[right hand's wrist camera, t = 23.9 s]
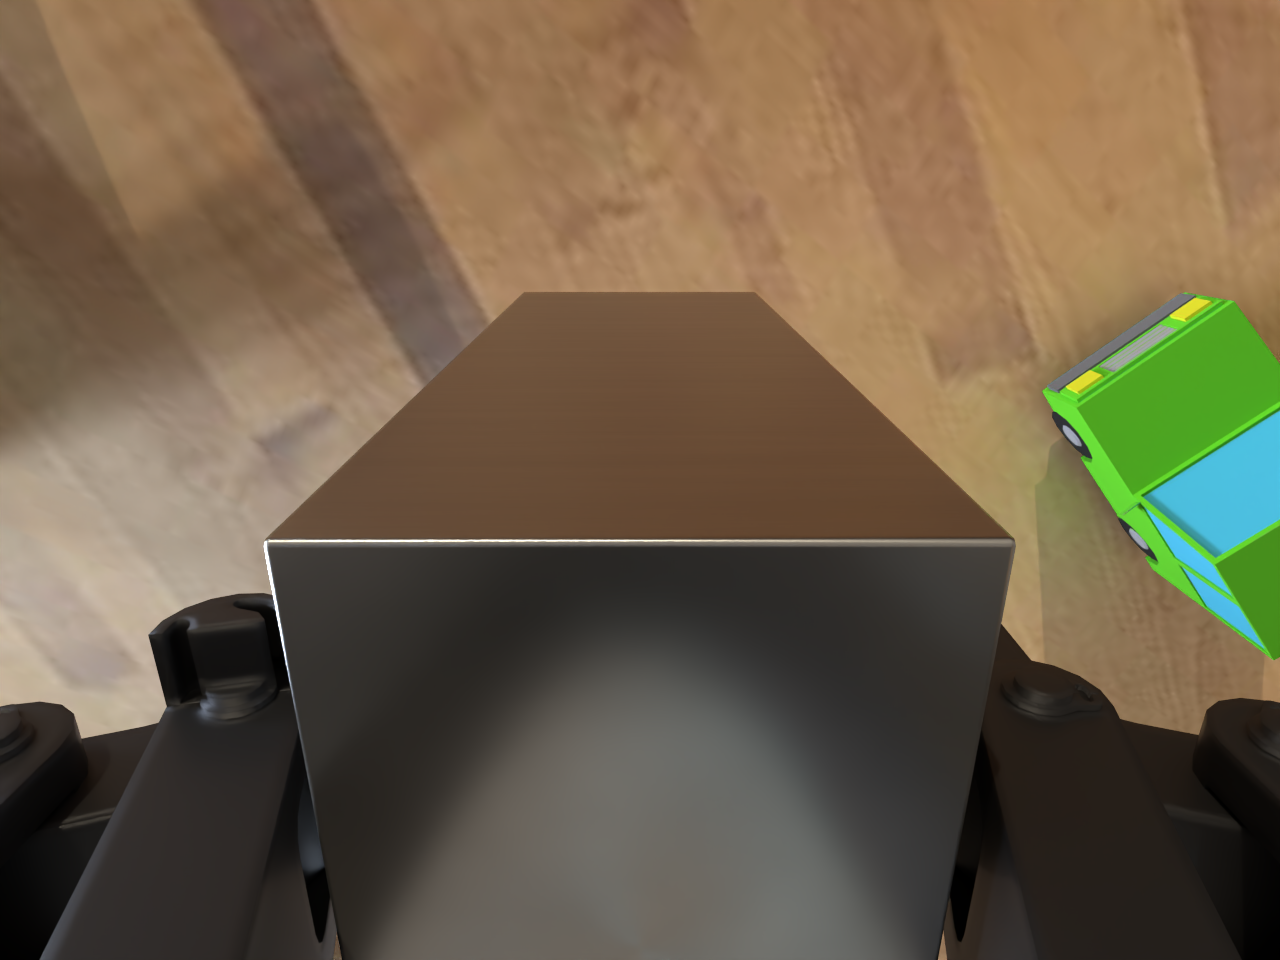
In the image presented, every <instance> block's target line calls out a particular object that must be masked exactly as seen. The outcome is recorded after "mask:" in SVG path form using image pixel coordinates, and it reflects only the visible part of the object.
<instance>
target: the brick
mask: <svg viewBox="0 0 1280 960" xmlns="http://www.w3.org/2000/svg"><path fill="white" fill-rule="evenodd" d="M1015 547H1016V545H1015V540H1014V538H1013V537H1012V536H1011V535H1010V534H1009V533H1008V532H1007V531H1006V530H1005V529H1004V528H1002V527H1001V526H1000V525H999V524H998V523H997V522H996V521H995V520H994V519H993V518H992V517H991V516H990V515H989V514H988V513H987V512H986V511H985V510H984V509H982V508H981V507H980V506H979V505H978V504H977V503H976V502H975V501H974V500H973V499H972V498H971V497H970V496H969V495H968V494H967V493H966V492H965V491H964V490H962V489H961V488H960V487H959V486H958V485H957V484H956V483H955V482H954V481H953V480H952V479H951V478H950V477H949V476H948V475H947V474H946V473H945V472H944V471H943V470H941V469H940V468H939V467H938V466H937V465H936V464H935V463H934V462H933V461H932V460H931V459H930V458H929V457H928V456H927V455H926V454H925V453H924V452H923V451H921V450H920V449H919V448H918V447H917V446H916V445H915V444H914V443H913V442H912V441H911V440H910V439H909V438H908V437H907V436H906V435H905V434H904V433H903V432H901V431H900V430H899V429H898V428H897V427H896V426H895V425H894V424H893V423H892V422H891V421H890V420H889V419H888V418H887V417H886V416H885V415H884V414H883V413H881V412H880V411H879V410H878V409H877V408H876V407H875V406H874V405H873V404H872V403H871V402H870V401H869V400H868V399H867V398H866V397H865V396H864V395H863V394H861V393H860V392H859V391H858V390H857V389H856V388H855V387H854V386H853V385H852V384H851V383H850V382H849V381H848V380H847V379H846V378H845V377H844V376H843V375H842V374H840V373H839V372H838V371H837V370H836V369H835V368H834V367H833V366H832V365H831V364H830V363H829V362H828V361H827V360H826V359H825V358H824V357H823V356H822V355H820V354H819V353H818V352H817V351H816V350H815V349H814V348H813V347H812V346H811V345H810V344H809V343H808V342H807V341H806V340H805V339H804V338H803V337H802V336H800V335H799V334H798V333H797V332H796V331H795V330H794V329H793V328H792V327H791V326H790V325H789V324H788V323H787V322H786V321H785V320H784V319H783V318H782V317H780V316H779V315H778V314H777V313H776V312H775V311H774V310H773V309H772V308H771V307H770V306H769V305H768V304H767V303H766V302H765V301H764V300H763V299H762V298H760V297H759V296H758V295H757V294H756V293H755V292H524V293H523V294H522V295H520V296H519V297H518V298H517V299H516V300H515V301H514V302H513V303H512V304H511V305H510V306H509V307H508V308H507V309H506V310H505V311H504V312H503V313H502V314H501V315H500V316H499V317H497V318H496V319H495V320H494V321H493V322H492V323H491V324H490V325H489V326H488V327H487V328H486V329H485V330H484V331H483V332H482V333H481V334H480V335H479V336H478V337H477V338H475V339H474V340H473V341H472V342H471V343H470V344H469V345H468V346H467V347H466V348H465V349H464V350H463V351H462V352H461V353H460V354H459V355H458V356H457V357H456V358H455V359H454V360H452V361H451V362H450V363H449V364H448V365H447V366H446V367H445V368H444V369H443V370H442V371H441V372H440V373H439V374H438V375H437V376H436V377H435V378H434V379H433V380H432V381H430V382H429V383H428V384H427V385H426V386H425V387H424V388H423V389H422V390H421V391H420V392H419V393H418V394H417V395H416V396H415V397H414V398H413V399H412V400H411V401H410V402H408V403H407V404H406V405H405V406H404V407H403V408H402V409H401V410H400V411H399V412H398V413H397V414H396V415H395V416H394V417H393V418H392V419H391V420H390V421H389V422H388V423H387V424H385V425H384V426H383V427H382V428H381V429H380V430H379V431H378V432H377V433H376V434H375V435H374V436H373V437H372V438H371V439H370V440H369V441H368V442H367V443H366V444H365V445H363V446H362V447H361V448H360V449H359V450H358V451H357V452H356V453H355V454H354V455H353V456H352V457H351V458H350V459H349V460H348V461H347V462H346V463H345V464H344V465H343V466H342V467H340V468H339V469H338V470H337V471H336V472H335V473H334V474H333V475H332V476H331V477H330V478H329V479H328V480H327V481H326V482H325V483H324V484H323V485H322V486H321V487H320V488H318V489H317V490H316V491H315V492H314V493H313V494H312V495H311V496H310V497H309V498H308V499H307V500H306V501H305V502H304V503H303V504H302V505H301V506H300V507H299V508H298V509H296V510H295V511H294V512H293V513H292V514H291V515H290V516H289V517H288V518H287V519H286V520H285V521H284V522H283V523H282V524H281V525H280V526H279V527H278V528H277V529H276V530H275V531H273V532H272V533H271V534H270V535H269V536H268V537H267V538H266V540H265V543H264V549H265V554H266V560H267V565H268V570H269V576H270V581H271V586H272V591H273V597H274V602H275V607H276V613H277V618H278V623H279V628H280V634H281V639H282V644H283V649H284V655H285V660H286V665H287V671H288V676H289V681H290V686H291V692H292V697H293V702H294V708H295V713H296V718H297V723H298V729H299V734H300V739H301V745H302V750H303V755H304V760H305V766H306V771H307V776H308V782H309V787H310V792H311V797H312V803H313V808H314V813H315V819H316V824H317V829H318V834H319V840H320V845H321V850H322V856H323V861H324V866H325V871H326V877H327V882H328V887H329V892H330V898H331V903H332V908H333V914H334V919H335V924H336V929H337V935H338V940H339V945H340V951H341V956H342V960H938V955H939V950H940V945H941V939H942V934H943V929H944V923H945V918H946V913H947V908H948V902H949V897H950V892H951V886H952V881H953V876H954V870H955V865H956V860H957V855H958V849H959V844H960V839H961V833H962V828H963V823H964V817H965V812H966V807H967V802H968V796H969V791H970V786H971V780H972V775H973V770H974V764H975V759H976V754H977V749H978V743H979V738H980V733H981V727H982V722H983V717H984V711H985V706H986V701H987V696H988V690H989V685H990V680H991V674H992V669H993V664H994V658H995V653H996V648H997V643H998V637H999V632H1000V627H1001V621H1002V616H1003V611H1004V605H1005V600H1006V595H1007V590H1008V584H1009V579H1010V574H1011V568H1012V563H1013V558H1014V552H1015Z"/></svg>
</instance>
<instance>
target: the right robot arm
mask: <svg viewBox="0 0 1280 960" xmlns="http://www.w3.org/2000/svg"><path fill="white" fill-rule="evenodd" d="M149 639H150V643H151V647H152V651H153V655H154V659H155V662H156V666H157V670H158V674H159V678H160V682H161V686H162V690H163V693H164V697H165V701H166V705H167V708H166V710H165V712H164V714H163V716H162V717H161V719H160V721H159V723H156V724H152V725H148V726H144V727H140V728H135V729H129V730H124V731H119V732H114V733H109V734H104V735H99V736H93V737H88V738H83V739H81V736H80V733H79V729H78V726H77V723H76V720H75V716H74V714H73V713H72V712H71V711H69V710H68V709H67V708H65V707H64V706H63V705H60V704H53V703H45V702H33V703H24V704H11V705H6V706H1V707H0V960H333V956H334V948H335V940H336V932H337V929H336V924H335V919H334V914H333V908H332V903H331V898H330V892H329V887H328V882H327V877H326V871H325V866H324V861H323V856H322V850H321V845H320V840H319V834H318V829H317V824H316V819H315V813H314V808H313V803H312V797H311V792H310V787H309V782H308V776H307V771H306V766H305V760H304V755H303V750H302V745H301V739H300V734H299V729H298V723H297V718H296V713H295V708H294V702H293V697H292V692H291V686H290V681H289V676H288V671H287V665H286V660H285V655H284V649H283V644H282V639H281V634H280V628H279V623H278V618H277V613H276V607H275V602H274V597H273V595H270V594H265V593H254V594H235V595H230V596H225V597H219V598H214V599H210V600H207V601H204V602H201V603H199V604H196V605H193V606H190V607H187V608H184V609H183V610H181V611H179V612H177V613H176V614H174V615H172V616H170V617H168V618H167V619H165V620H163V621H162V622H161V623H160V624H159V625H158V626H157V627H156V628H155V629H154V630H153V631H152V632H151V633H150V634H149ZM943 930H944V938H945V946H946V954H947V960H1280V703H1279V702H1274V701H1267V700H1266V701H1263V700H1254V699H1245V698H1237V699H1230V700H1223V701H1218V702H1217V703H1215V704H1214V705H1213V706H1211V707H1210V708H1209V709H1207V711H1206V714H1205V717H1204V720H1203V724H1202V727H1201V730H1200V733H1199V735H1195V734H1190V733H1184V732H1179V731H1174V730H1169V729H1164V728H1158V727H1153V726H1148V725H1143V724H1138V723H1134V722H1130V721H1126V720H1122V719H1120V718H1119V716H1118V714H1117V712H1116V710H1115V708H1114V706H1113V705H1112V704H1111V702H1110V701H1109V700H1108V699H1107V698H1106V696H1105V695H1104V694H1103V693H1102V692H1101V690H1099V689H1098V688H1096V687H1095V686H1093V685H1092V684H1090V683H1089V682H1087V681H1086V680H1084V679H1083V678H1081V677H1080V676H1078V675H1075V674H1073V673H1071V672H1068V671H1066V670H1063V669H1061V668H1058V667H1056V666H1053V665H1049V664H1044V663H1040V662H1035V661H1031V660H1030V658H1029V657H1028V656H1027V655H1026V654H1025V652H1024V651H1023V650H1022V649H1021V647H1020V646H1019V645H1018V644H1017V643H1016V641H1015V640H1014V639H1013V638H1012V636H1011V635H1010V634H1009V633H1008V632H1007V630H1006V629H1005V628H1004V627H1003V625H1002V624H1001V627H1000V632H999V637H998V643H997V648H996V653H995V658H994V664H993V669H992V674H991V680H990V685H989V690H988V696H987V701H986V706H985V711H984V717H983V722H982V727H981V733H980V738H979V743H978V749H977V754H976V759H975V764H974V770H973V775H972V780H971V786H970V791H969V796H968V802H967V807H966V812H965V817H964V823H963V828H962V833H961V839H960V844H959V849H958V855H957V860H956V865H955V870H954V876H953V881H952V886H951V892H950V897H949V902H948V908H947V913H946V918H945V923H944V929H943Z"/></svg>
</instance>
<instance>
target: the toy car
mask: <svg viewBox="0 0 1280 960" xmlns="http://www.w3.org/2000/svg"><path fill="white" fill-rule="evenodd" d="M1042 392H1043V393H1044V395H1045V397H1046V399H1047V400H1048V402H1049V404H1050V406H1051V407H1052V409H1053V411H1054V412H1052V417H1053V419H1054V421H1055V423H1056V425H1057V427H1058V428H1059V430H1060V431H1061V432H1062V434H1063V435H1064V436H1065V438H1066V439H1067V440H1068V441H1069V442H1070V443H1071V444H1072V445H1073V446H1074V447H1075V448H1076V449H1077V450H1078V451H1079V452H1080V453H1081V454H1083V455H1084V456H1082V457H1081V459H1082V461H1083V462H1084V464H1085V466H1086V467H1087V469H1088V470H1089V472H1090V474H1091V475H1092V477H1093V478H1094V480H1095V481H1096V483H1097V484H1098V486H1099V487H1100V489H1101V490H1102V492H1103V494H1104V495H1105V497H1106V498H1107V500H1108V501H1109V503H1110V504H1111V506H1112V507H1113V509H1114V511H1115V512H1116V514H1117V516H1118V517H1119V521H1120V523H1121V525H1122V527H1123V528H1124V530H1125V531H1126V532H1127V534H1128V535H1129V536H1130V538H1131V539H1132V540H1133V541H1134V542H1135V543H1136V544H1137V545H1138V546H1139V547H1140V549H1141V550H1142V551H1144V552H1145V553H1146V554H1147V555H1148V556H1147V557H1145V558H1146V560H1147V561H1148V563H1149V564H1150V566H1151V567H1152V569H1153V570H1154V571H1155V572H1157V573H1158V574H1159V575H1161V576H1162V577H1163V578H1165V579H1166V580H1167V581H1169V582H1170V583H1171V584H1173V585H1174V586H1175V587H1177V588H1178V589H1179V590H1181V591H1182V592H1183V593H1185V594H1186V595H1187V596H1189V597H1190V598H1191V599H1193V600H1194V601H1195V602H1197V603H1198V604H1199V605H1201V606H1202V607H1203V608H1205V609H1206V610H1207V611H1209V612H1210V613H1211V614H1213V615H1214V616H1215V617H1217V618H1218V619H1219V620H1221V621H1222V622H1223V623H1225V624H1226V625H1227V626H1229V627H1230V628H1231V629H1233V630H1234V631H1235V632H1237V633H1238V634H1239V635H1241V636H1242V637H1243V638H1245V639H1246V640H1247V641H1249V642H1250V643H1251V644H1253V645H1254V646H1255V647H1257V648H1258V649H1259V650H1261V651H1262V652H1263V653H1265V654H1266V655H1267V656H1269V657H1270V658H1271V659H1273V660H1275V659H1277V658H1279V657H1280V364H1279V363H1278V361H1277V360H1276V358H1275V357H1274V356H1273V354H1272V353H1271V352H1270V350H1269V349H1268V347H1267V346H1266V345H1265V343H1264V342H1263V340H1262V339H1261V338H1260V336H1259V335H1258V334H1257V332H1256V331H1255V329H1254V328H1253V327H1252V325H1251V324H1250V322H1249V321H1248V320H1247V318H1246V317H1245V315H1244V314H1243V313H1242V311H1241V310H1240V309H1239V307H1238V306H1237V304H1236V303H1235V302H1234V301H1230V300H1224V299H1219V298H1213V297H1207V296H1202V295H1196V294H1190V293H1183V294H1182V293H1180V294H1179V295H1177V296H1176V297H1175V298H1173V299H1172V300H1170V301H1169V302H1167V303H1166V304H1164V305H1163V306H1162V307H1160V308H1159V309H1157V310H1156V311H1154V312H1153V313H1151V314H1150V315H1149V316H1147V317H1146V318H1144V319H1143V320H1141V321H1140V322H1138V323H1137V324H1135V325H1134V326H1133V327H1131V328H1130V329H1128V330H1127V331H1125V332H1124V333H1122V334H1121V335H1120V336H1118V337H1117V338H1115V339H1114V340H1112V341H1111V342H1109V343H1108V344H1107V345H1105V346H1104V347H1102V348H1101V349H1099V350H1098V351H1096V352H1095V353H1093V354H1092V355H1091V356H1089V357H1088V358H1086V359H1085V360H1083V361H1082V362H1080V363H1079V364H1078V365H1076V366H1075V367H1073V368H1072V369H1070V370H1069V371H1067V372H1066V373H1065V374H1063V375H1062V376H1060V377H1059V378H1057V379H1056V380H1054V381H1053V382H1051V383H1050V384H1049V385H1047V388H1046V389H1044V390H1043V391H1042Z"/></svg>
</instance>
